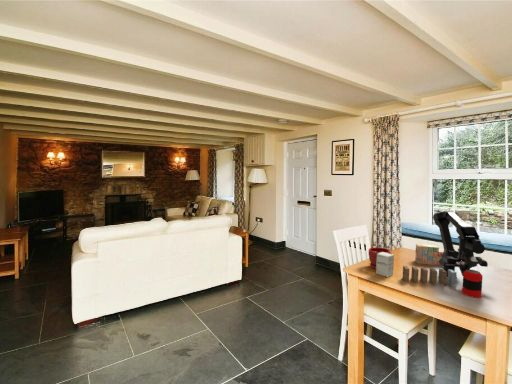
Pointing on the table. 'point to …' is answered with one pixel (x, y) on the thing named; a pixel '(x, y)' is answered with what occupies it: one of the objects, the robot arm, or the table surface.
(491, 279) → the table surface
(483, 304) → the table surface
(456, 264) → the robot arm
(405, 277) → the domino
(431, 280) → the domino
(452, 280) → the domino
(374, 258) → the plant pot
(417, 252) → the printed cardboard carton
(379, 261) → the supplement box
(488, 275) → the table surface
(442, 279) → the domino
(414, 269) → the domino
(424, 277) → the domino
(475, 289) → the soda can
